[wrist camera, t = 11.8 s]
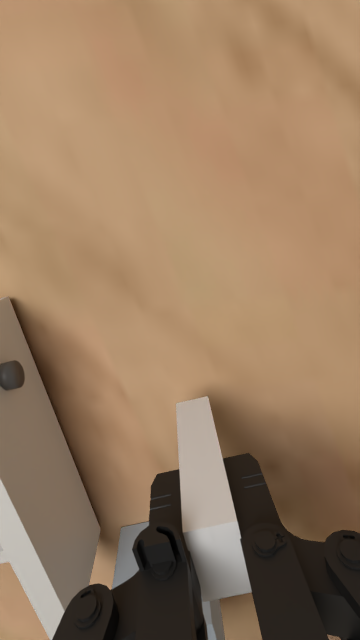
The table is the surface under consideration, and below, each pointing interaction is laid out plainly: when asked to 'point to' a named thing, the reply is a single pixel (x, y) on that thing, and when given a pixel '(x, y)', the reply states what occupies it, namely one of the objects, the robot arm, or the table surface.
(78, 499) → the tray
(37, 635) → the table surface
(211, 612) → the block
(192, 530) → the robot arm
